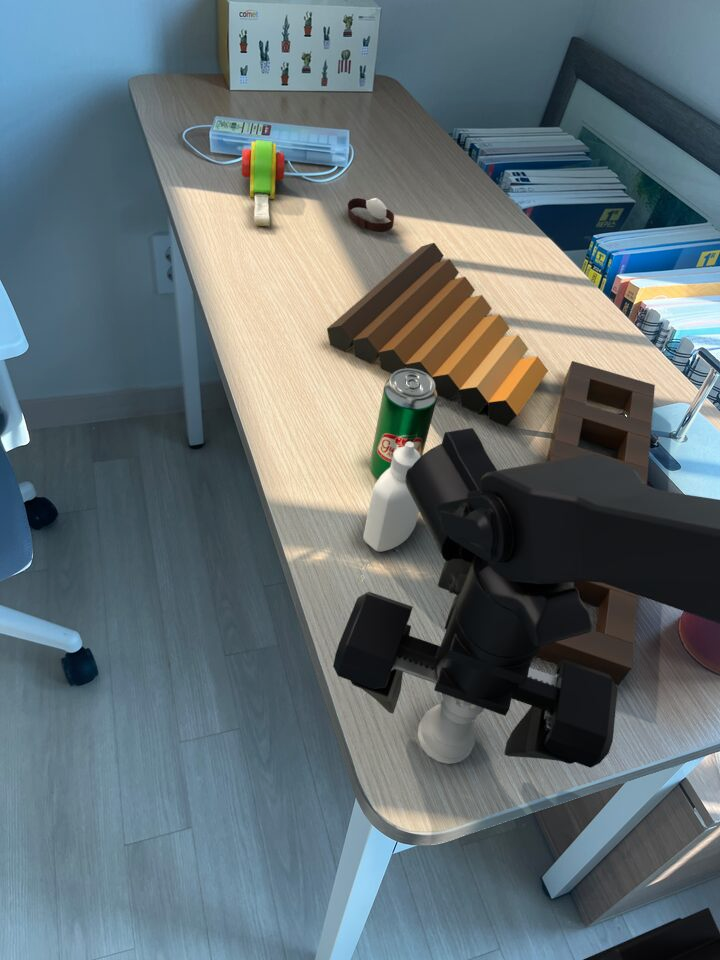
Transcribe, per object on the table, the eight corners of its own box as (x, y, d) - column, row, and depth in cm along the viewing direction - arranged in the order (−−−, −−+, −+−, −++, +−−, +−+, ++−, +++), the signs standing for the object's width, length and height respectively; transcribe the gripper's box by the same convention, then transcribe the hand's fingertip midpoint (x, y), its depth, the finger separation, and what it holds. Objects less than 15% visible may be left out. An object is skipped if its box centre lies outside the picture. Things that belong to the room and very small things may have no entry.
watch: (399, 227, 113) (402, 204, 111) (382, 239, 110) (385, 216, 108) (356, 208, 116) (359, 186, 113) (339, 219, 113) (341, 196, 110)
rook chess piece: (406, 722, 60) (425, 673, 54) (455, 703, 61) (478, 653, 55) (433, 775, 57) (455, 728, 51) (483, 753, 59) (510, 706, 53)
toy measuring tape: (283, 168, 122) (285, 127, 117) (283, 230, 109) (285, 186, 104) (243, 165, 121) (243, 123, 116) (238, 227, 108) (238, 182, 103)
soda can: (367, 486, 76) (384, 397, 68) (370, 451, 80) (386, 362, 71) (416, 493, 77) (440, 404, 68) (417, 457, 80) (439, 369, 71)
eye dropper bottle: (355, 520, 73) (371, 430, 65) (409, 512, 75) (432, 423, 66) (367, 555, 70) (386, 466, 62) (423, 546, 72) (449, 458, 63)
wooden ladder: (618, 686, 64) (632, 668, 62) (504, 646, 66) (514, 628, 63) (645, 403, 91) (655, 384, 89) (564, 380, 93) (572, 360, 90)
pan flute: (418, 259, 108) (325, 342, 92) (422, 238, 105) (327, 319, 89) (582, 327, 101) (512, 429, 85) (591, 305, 98) (520, 406, 83)
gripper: (658, 568, 51) (581, 680, 62) (394, 482, 53) (366, 605, 64) (649, 713, 43) (563, 811, 55) (342, 606, 46) (321, 721, 57)
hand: (449, 728), depth 58 cm, fingers open, 9 cm apart
